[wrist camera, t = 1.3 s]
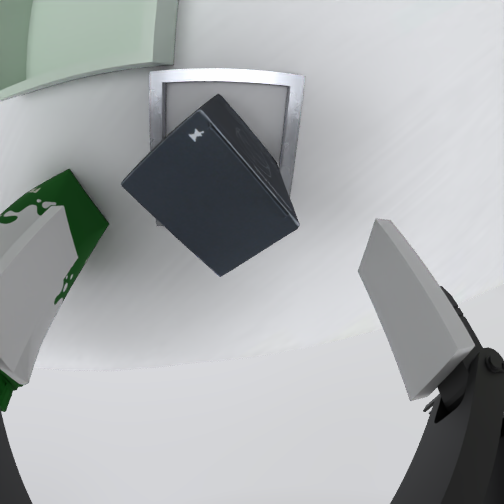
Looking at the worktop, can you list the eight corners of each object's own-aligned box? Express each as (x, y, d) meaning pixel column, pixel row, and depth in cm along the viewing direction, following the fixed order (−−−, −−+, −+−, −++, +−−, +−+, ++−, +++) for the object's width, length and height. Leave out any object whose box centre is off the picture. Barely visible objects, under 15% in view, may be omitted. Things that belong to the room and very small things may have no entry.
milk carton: (72, 259, 28) (-6, 412, 11) (26, 200, 23) (-86, 334, 6) (121, 226, 26) (29, 418, 9) (69, 154, 21) (-90, 305, 4)
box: (166, 137, 21) (116, 184, 12) (219, 92, 19) (201, 104, 10) (226, 202, 25) (219, 281, 16) (279, 164, 23) (304, 228, 14)
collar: (159, 219, 25) (156, 225, 24) (154, 71, 18) (149, 71, 17) (282, 223, 26) (284, 230, 25) (301, 75, 18) (305, 75, 17)
